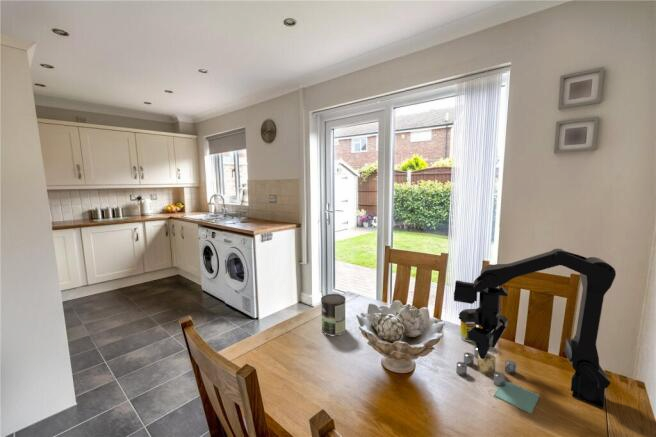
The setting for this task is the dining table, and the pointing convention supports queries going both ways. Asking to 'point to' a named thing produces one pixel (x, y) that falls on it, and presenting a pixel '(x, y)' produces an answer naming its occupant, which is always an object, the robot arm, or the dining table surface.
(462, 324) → the supplement bottle
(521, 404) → the mat
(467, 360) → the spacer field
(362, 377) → the dining table surface
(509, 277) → the robot arm
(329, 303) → the coffee can
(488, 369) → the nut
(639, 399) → the dining table surface
